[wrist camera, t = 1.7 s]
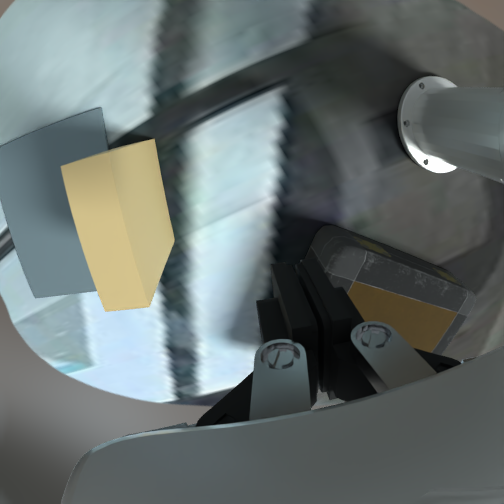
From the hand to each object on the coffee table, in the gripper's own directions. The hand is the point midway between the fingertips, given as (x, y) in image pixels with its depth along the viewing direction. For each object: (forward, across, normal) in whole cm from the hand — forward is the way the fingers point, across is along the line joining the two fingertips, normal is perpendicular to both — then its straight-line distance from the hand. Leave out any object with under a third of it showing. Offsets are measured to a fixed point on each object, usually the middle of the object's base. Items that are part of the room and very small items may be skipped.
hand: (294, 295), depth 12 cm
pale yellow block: (+24, +11, 0) cm, 27 cm away
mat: (+24, +24, 0) cm, 34 cm away
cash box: (+25, -14, +21) cm, 35 cm away
